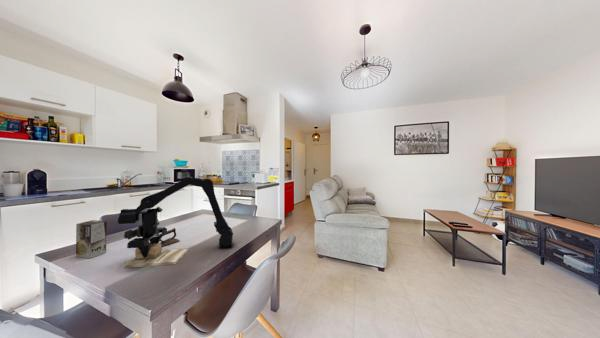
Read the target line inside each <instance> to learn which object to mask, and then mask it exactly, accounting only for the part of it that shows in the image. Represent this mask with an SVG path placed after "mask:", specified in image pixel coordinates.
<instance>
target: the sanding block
mask: <svg viewBox="0 0 600 338" xmlns="http://www.w3.org/2000/svg"><path fill="white" fill-rule="evenodd" d="M160 243H161V242H160ZM161 246H162V243H161V244H159V243H158V244H151V247H150V249H149V252H148V255H147V257H146V258H143V256H142V253H141V251H140V250H139V248H134V249H135V250H134V253H135V254H134V258H135V260H143V259H155V258H156V257H158V256H159V255H160V254H161V250H162V247H161Z"/></svg>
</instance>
